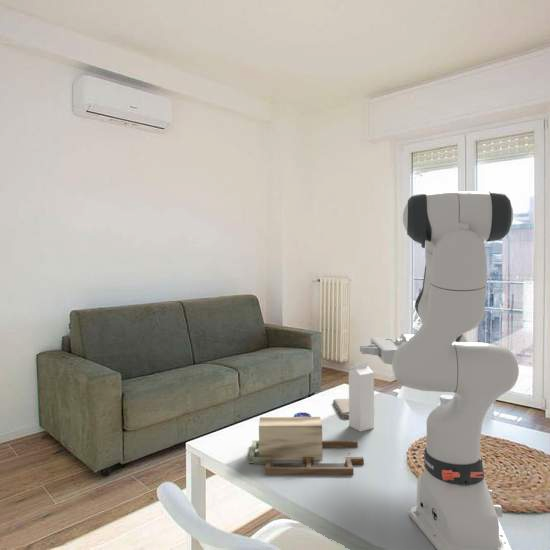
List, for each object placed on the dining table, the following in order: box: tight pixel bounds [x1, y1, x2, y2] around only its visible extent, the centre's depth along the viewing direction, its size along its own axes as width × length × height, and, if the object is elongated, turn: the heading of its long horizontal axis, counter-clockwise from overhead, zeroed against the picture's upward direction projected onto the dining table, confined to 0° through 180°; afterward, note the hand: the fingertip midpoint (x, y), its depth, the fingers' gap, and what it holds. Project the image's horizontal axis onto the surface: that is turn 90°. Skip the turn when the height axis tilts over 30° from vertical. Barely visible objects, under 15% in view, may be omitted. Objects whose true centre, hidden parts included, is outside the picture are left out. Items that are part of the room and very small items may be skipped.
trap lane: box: [248, 440, 365, 476], centre depth 130 cm, size 18×32×2 cm, turn 88°
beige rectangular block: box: [258, 416, 323, 461], centre depth 133 cm, size 7×18×10 cm, turn 89°
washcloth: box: [332, 398, 349, 420], centre depth 170 cm, size 12×18×3 cm, turn 5°
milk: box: [348, 361, 375, 432], centre depth 153 cm, size 6×6×22 cm
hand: (360, 349), depth 132 cm, fingers closed
